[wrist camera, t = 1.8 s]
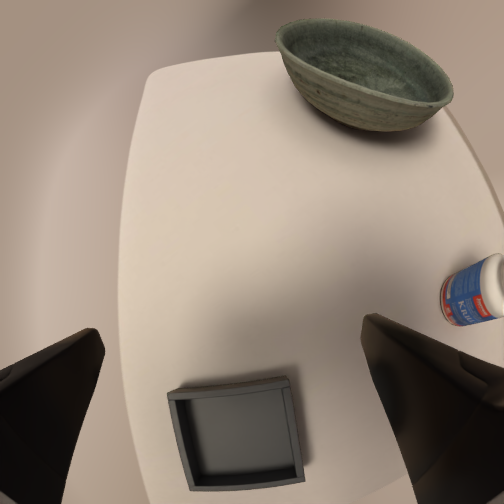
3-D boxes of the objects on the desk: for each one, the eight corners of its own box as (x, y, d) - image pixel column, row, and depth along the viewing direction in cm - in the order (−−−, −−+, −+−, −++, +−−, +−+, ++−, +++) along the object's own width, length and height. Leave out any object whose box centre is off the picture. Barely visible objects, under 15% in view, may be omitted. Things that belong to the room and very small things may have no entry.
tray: (301, 469, 17) (305, 481, 15) (197, 478, 17) (189, 491, 15) (286, 375, 20) (289, 378, 18) (176, 388, 20) (166, 392, 18)
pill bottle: (432, 314, 21) (502, 291, 12) (445, 266, 22) (507, 228, 13) (467, 335, 20) (535, 320, 11) (478, 288, 21) (539, 260, 12)
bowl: (291, 172, 27) (299, 95, 17) (264, 67, 34) (263, 11, 24) (447, 170, 26) (485, 120, 17) (387, 73, 33) (401, 27, 24)
